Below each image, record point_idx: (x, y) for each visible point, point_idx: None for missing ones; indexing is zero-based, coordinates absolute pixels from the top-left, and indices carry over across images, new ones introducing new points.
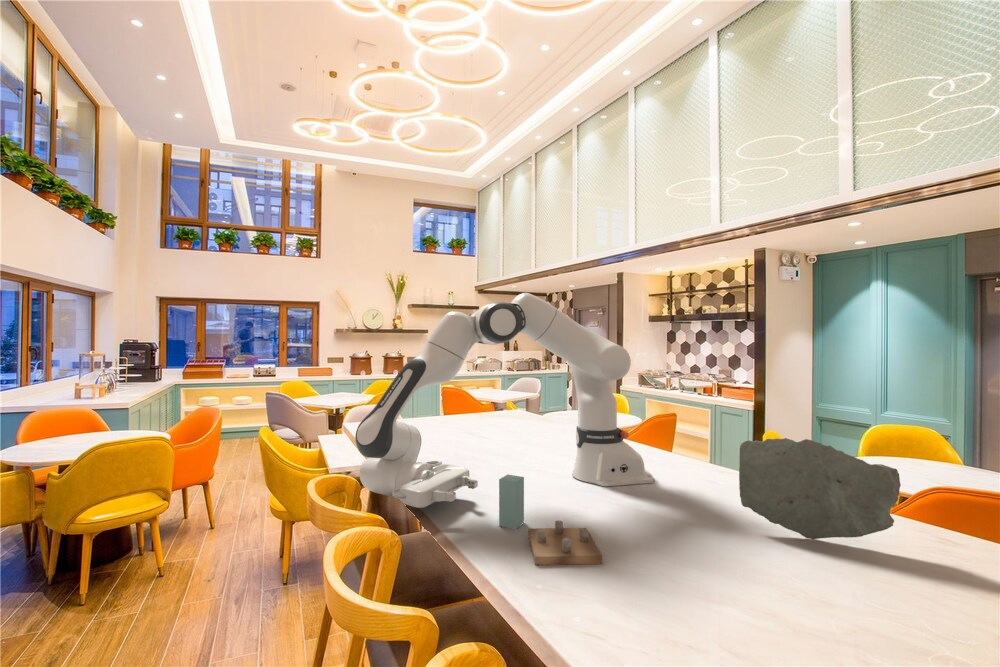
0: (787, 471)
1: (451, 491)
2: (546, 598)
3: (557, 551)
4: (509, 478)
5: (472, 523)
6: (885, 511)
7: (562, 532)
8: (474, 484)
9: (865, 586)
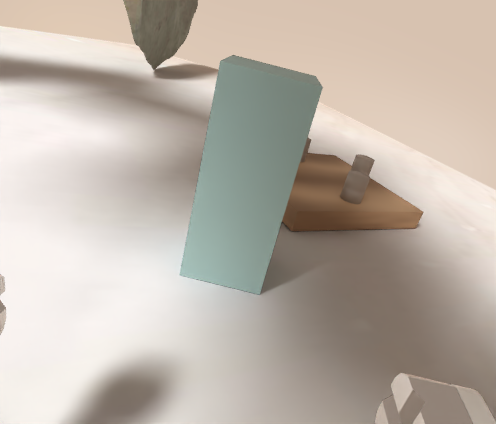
0: None
1: (429, 411)
2: (487, 224)
3: (371, 187)
4: (282, 72)
5: (289, 403)
6: (190, 24)
7: None
8: (1, 291)
9: None
